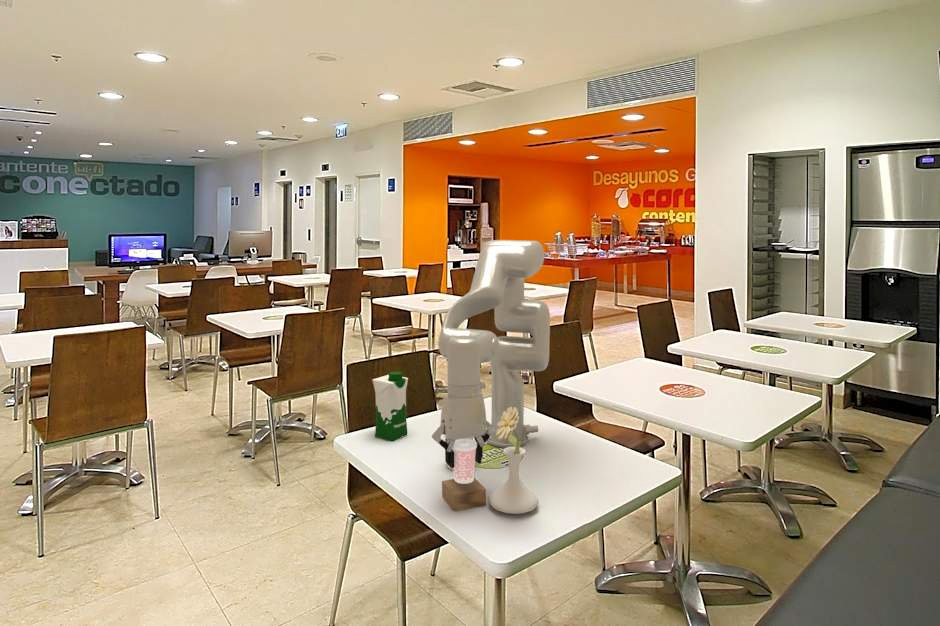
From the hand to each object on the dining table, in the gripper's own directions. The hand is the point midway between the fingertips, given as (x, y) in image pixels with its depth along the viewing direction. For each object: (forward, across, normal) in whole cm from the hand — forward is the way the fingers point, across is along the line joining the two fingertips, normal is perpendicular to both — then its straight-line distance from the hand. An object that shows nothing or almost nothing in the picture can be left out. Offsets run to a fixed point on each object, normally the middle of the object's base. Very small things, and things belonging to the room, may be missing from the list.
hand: (464, 463), depth 149 cm
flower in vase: (+10, -9, +8) cm, 15 cm away
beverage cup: (+4, 0, 0) cm, 4 cm away
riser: (+9, 0, 0) cm, 9 cm away
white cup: (+10, -6, -20) cm, 23 cm away
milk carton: (+10, +5, -49) cm, 50 cm away
